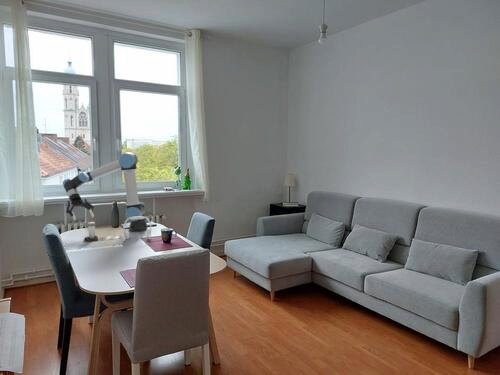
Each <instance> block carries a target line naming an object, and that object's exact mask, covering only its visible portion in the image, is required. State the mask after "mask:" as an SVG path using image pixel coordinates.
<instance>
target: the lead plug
mask: <svg viewBox="0 0 500 375" xmlns="http://www.w3.org/2000/svg"><path fill="white" fill-rule="evenodd" d="M87 228H88V237H89V239H90V238H96V237H95V236H96V223H95V221H89V222H87Z"/></svg>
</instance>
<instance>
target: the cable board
mask: <svg viewBox="0 0 500 375" xmlns="http://www.w3.org/2000/svg"><path fill="white" fill-rule="evenodd" d="M95 237H96V238H90V239H89V236H85V237H84V239H83V240H82V241H83V243H93V242H94V243H95V242H102V241H111V240H120V239H123V238H122V236H121V235H112V236H104V237H102V236H101V237H99V236H98V235H95Z"/></svg>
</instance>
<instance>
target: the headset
mask: <svg viewBox="0 0 500 375" xmlns="http://www.w3.org/2000/svg"><path fill="white" fill-rule="evenodd" d="M144 218H145V220H146V221H147V222H148V224H149V227H148V228H147V230H146V238H150V239H149V240H151V238H152V222H151V221H150V219H149V218H148V217H146V216H145V217H144V216H134V217H129V218H128V219H127V218H126V219H125V221H124V224H123V227H122V228H123V234H124V235H123V236H124V240H126V239H127V240H128V239H129V238H130V232H129V228H125V227H126V224H127V223H128V221H130V220H129V219H131V220H134V219H144Z"/></svg>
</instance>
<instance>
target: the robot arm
mask: <svg viewBox="0 0 500 375" xmlns="http://www.w3.org/2000/svg"><path fill="white" fill-rule="evenodd" d="M138 161H139V160H138V156H137V155H136V153H134V152H123V153H122V154H120V156H119V158H118V160H114V161H112V162H109V163H107V164H104V165H102V166H99V167H97V168H95V169H92V170H90V171H88V172H84V171H82V172H81V173H78V174H77V175H76V176H75V177H72V178H66V179H64V180H63V181H62V185H63V188H64V190H65V192H66V194H67V198H68V199H69V200H67V202H66V205H67V207H66V212H65V214H68V215H69V216H70V217H71V218H72V220H73V221H76V219H77V217H76V215H75V213H74V211H73V210H74V208H75V207H83V208H85V209H87V210H88V211H89V212H88V213H89V214H90V216H91V218H94V217H95V214H94V208H95V206H94V205H93V204H91V203H90V202H89V201H88V200H87V199H85V198H84V199H83V200H82V197H81V195H80V194H79V191H78V188H79V187H80V186H82V185H83V184H86V183H87V184H88V183H90V182H92V181H94V180H97V179H100V178H102V177H104V176H107V175H109V174H112V173H113V172H116V171H121V172H122V173H123V178H124V185H125V194H126V202H127V203H125V213H124V214H125V217H126V220H127V219H128V218H129V217H134V216H144V217H146V205H145V202H140V200H139V192H138V187H137V185H138V184H137V176H136V171H137V170H138V168H137V164H138ZM71 205H72V206H71ZM70 206H71V208H70ZM128 221H130V223H129V226H128V230H129V231H130V232H143V231H147V228H148V226H149V225H148V224H147V219H146V218H144V219H134V220H131V219H129V220H128Z"/></svg>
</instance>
